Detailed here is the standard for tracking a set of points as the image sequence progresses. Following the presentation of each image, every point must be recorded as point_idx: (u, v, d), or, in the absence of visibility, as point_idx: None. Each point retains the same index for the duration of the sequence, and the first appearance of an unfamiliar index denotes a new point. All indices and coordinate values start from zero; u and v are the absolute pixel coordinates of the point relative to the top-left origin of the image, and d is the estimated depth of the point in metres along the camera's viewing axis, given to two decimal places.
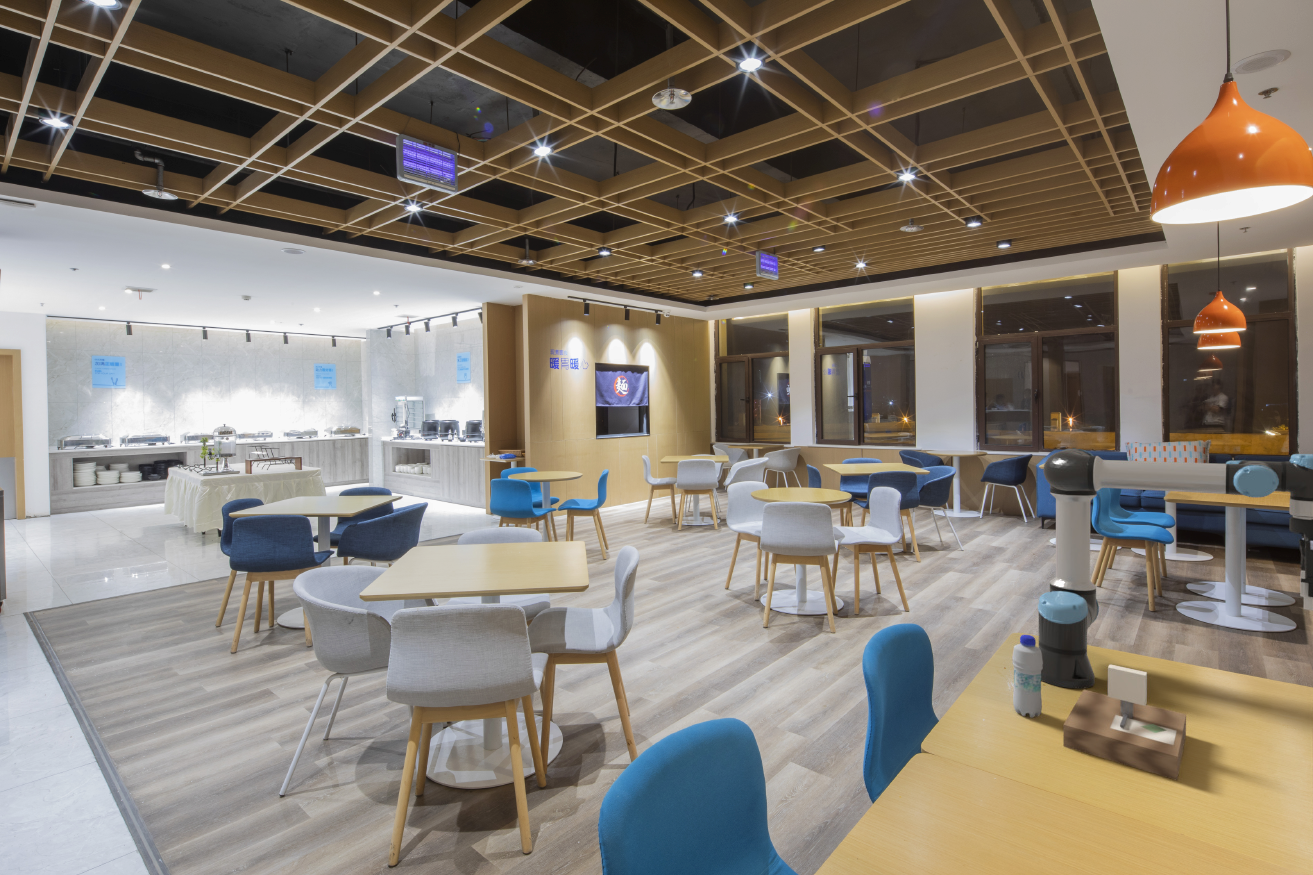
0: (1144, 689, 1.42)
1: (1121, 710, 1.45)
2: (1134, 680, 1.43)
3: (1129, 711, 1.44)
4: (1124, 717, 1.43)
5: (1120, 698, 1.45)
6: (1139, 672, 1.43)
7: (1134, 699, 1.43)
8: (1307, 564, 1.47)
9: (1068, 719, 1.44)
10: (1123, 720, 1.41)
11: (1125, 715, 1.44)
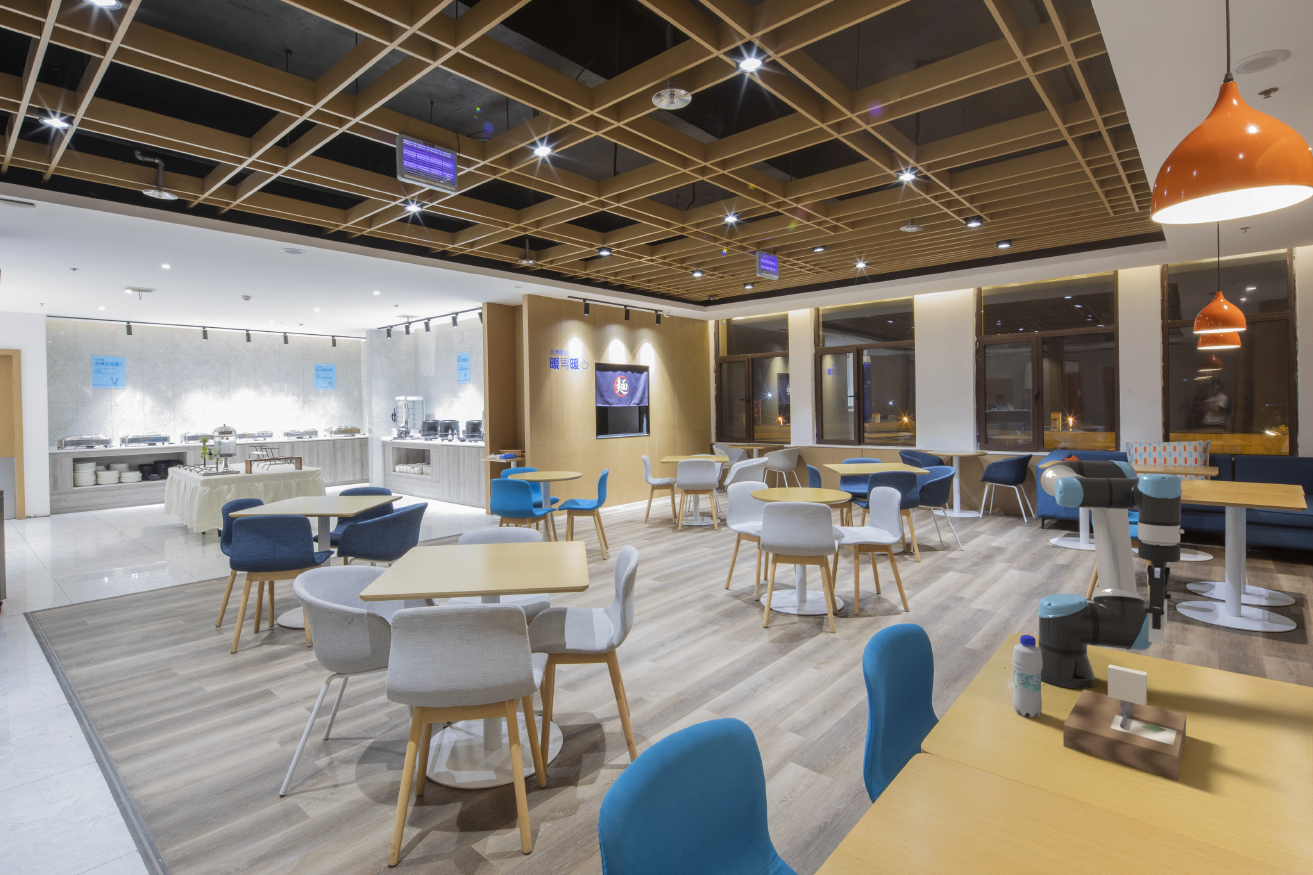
0: (1144, 689, 1.42)
1: (1121, 710, 1.45)
2: (1134, 680, 1.43)
3: (1129, 711, 1.44)
4: (1124, 717, 1.43)
5: (1120, 698, 1.45)
6: (1139, 672, 1.43)
7: (1134, 699, 1.43)
8: (1150, 593, 1.36)
9: (1068, 719, 1.44)
10: (1123, 720, 1.41)
11: (1125, 715, 1.44)
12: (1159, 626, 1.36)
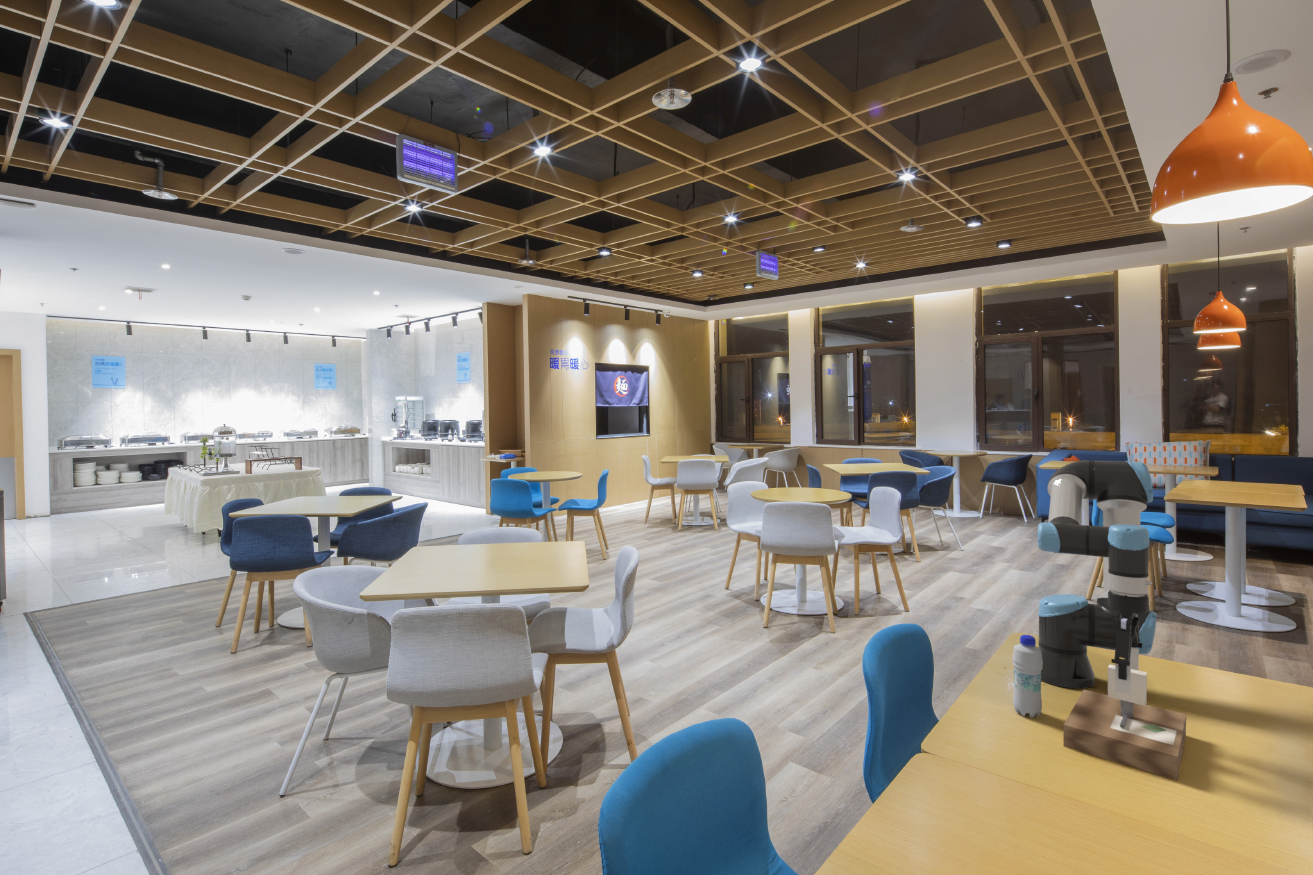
0: (1144, 689, 1.42)
1: (1121, 710, 1.45)
2: (1134, 680, 1.43)
3: (1129, 711, 1.44)
4: (1124, 717, 1.43)
5: (1120, 698, 1.45)
6: (1139, 672, 1.43)
7: (1134, 699, 1.43)
8: (1116, 644, 1.39)
9: (1068, 719, 1.44)
10: (1123, 720, 1.41)
11: (1125, 715, 1.44)
12: (1125, 677, 1.38)
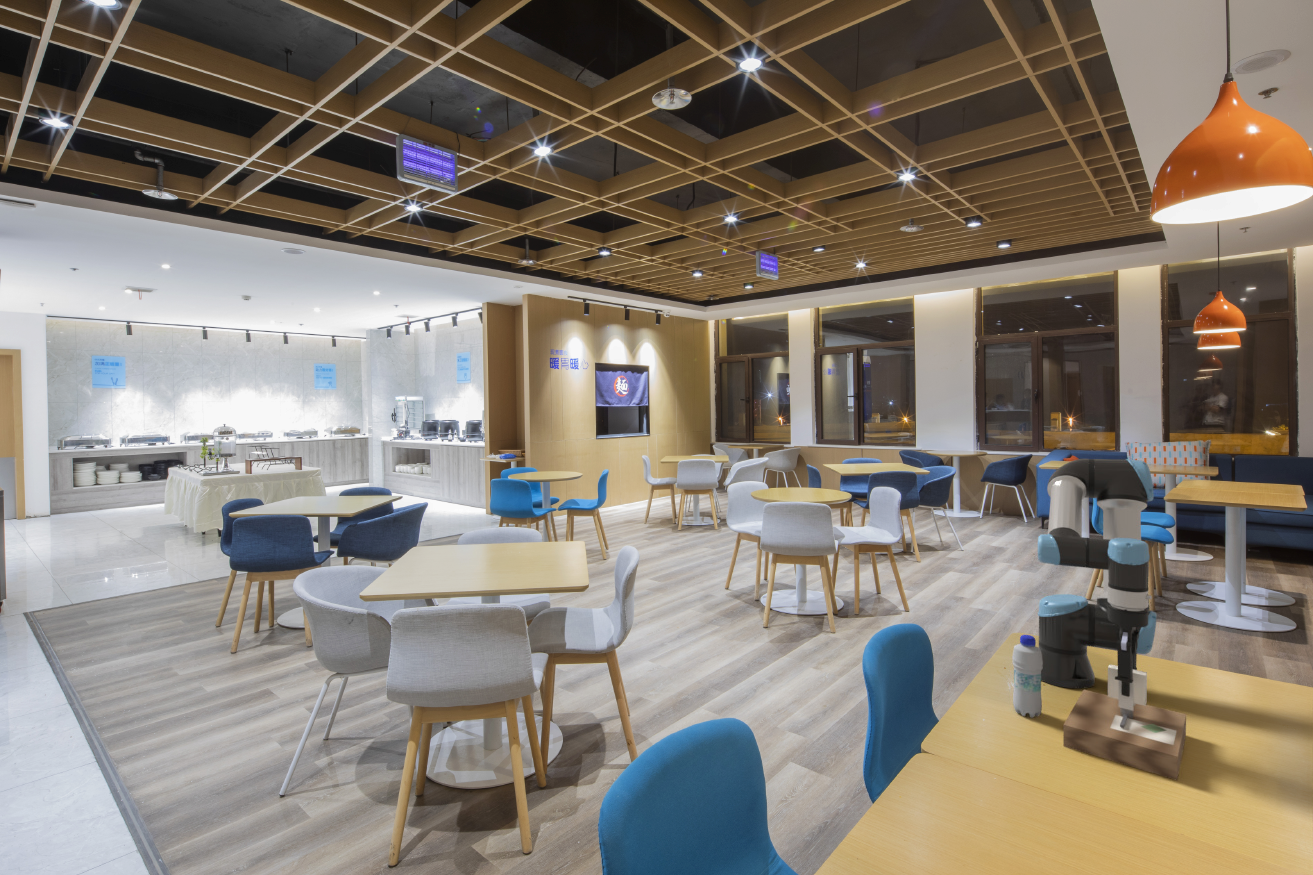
0: (1144, 689, 1.42)
1: (1121, 710, 1.45)
2: (1134, 680, 1.43)
3: (1129, 711, 1.44)
4: (1124, 717, 1.43)
5: None
6: (1139, 672, 1.43)
7: (1134, 699, 1.43)
8: (1118, 664, 1.41)
9: (1068, 719, 1.44)
10: (1123, 720, 1.41)
11: (1125, 715, 1.44)
12: (1128, 693, 1.42)
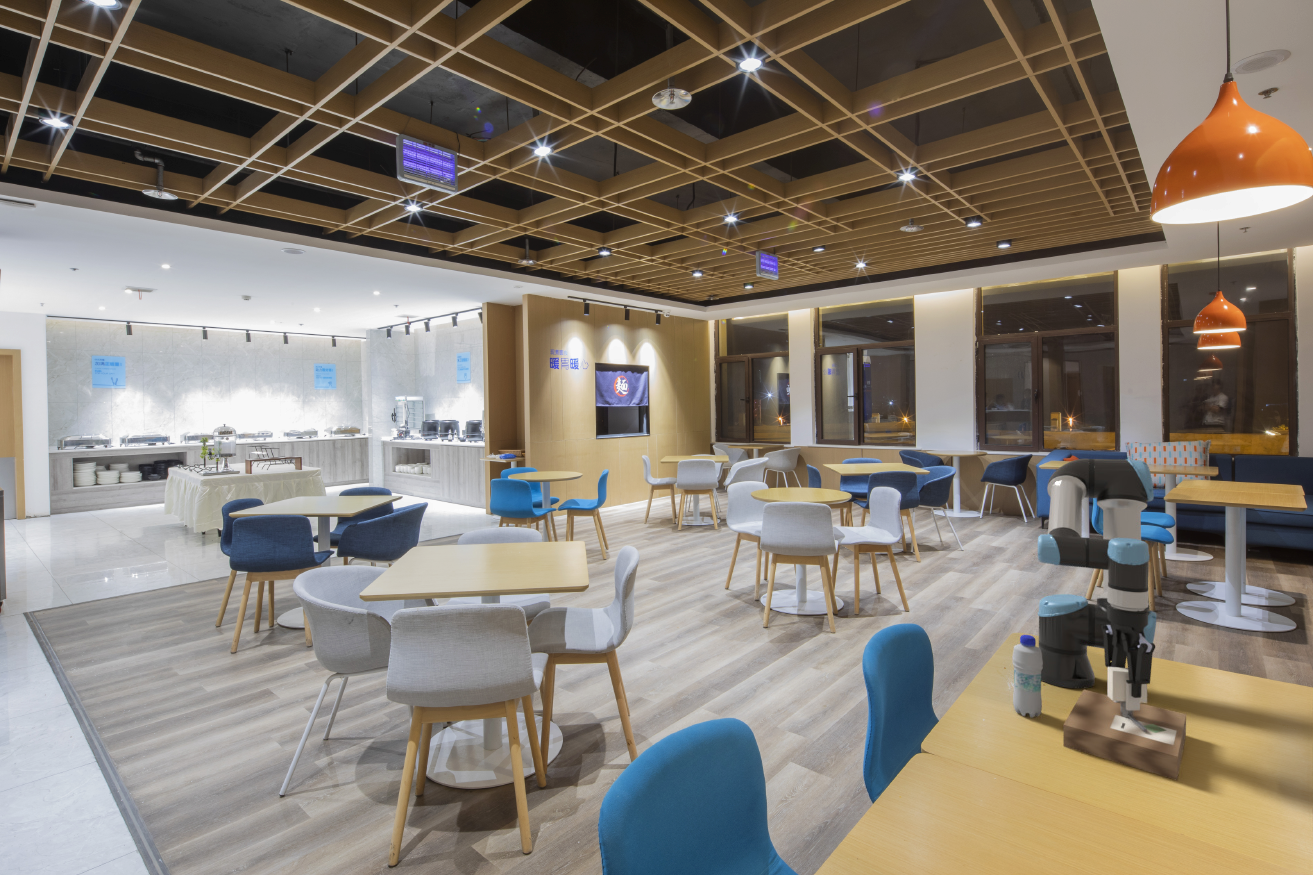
0: (1146, 686, 1.43)
1: (1123, 711, 1.45)
2: None
3: (1132, 711, 1.44)
4: (1133, 719, 1.42)
5: (1124, 700, 1.44)
6: None
7: None
8: (1141, 668, 1.39)
9: (1068, 719, 1.44)
10: (1138, 723, 1.40)
11: (1131, 716, 1.43)
12: None
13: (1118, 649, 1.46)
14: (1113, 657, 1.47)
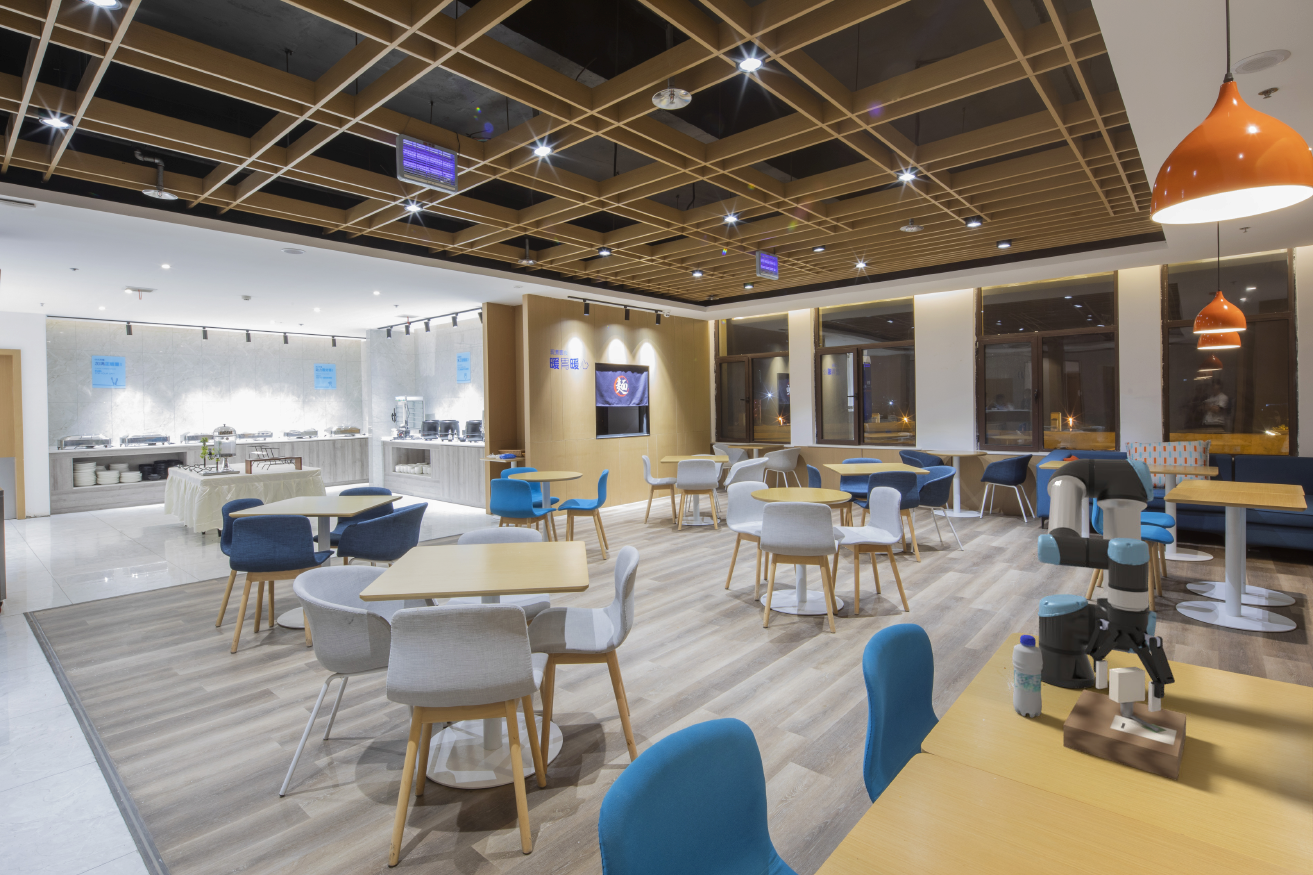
0: (1144, 684, 1.44)
1: (1125, 712, 1.44)
2: (1137, 678, 1.44)
3: (1132, 710, 1.44)
4: (1139, 719, 1.42)
5: (1127, 700, 1.44)
6: (1135, 668, 1.45)
7: (1137, 697, 1.44)
8: (1161, 665, 1.36)
9: (1068, 719, 1.44)
10: (1146, 723, 1.40)
11: (1134, 716, 1.43)
12: None
13: (1110, 645, 1.47)
14: (1101, 648, 1.49)
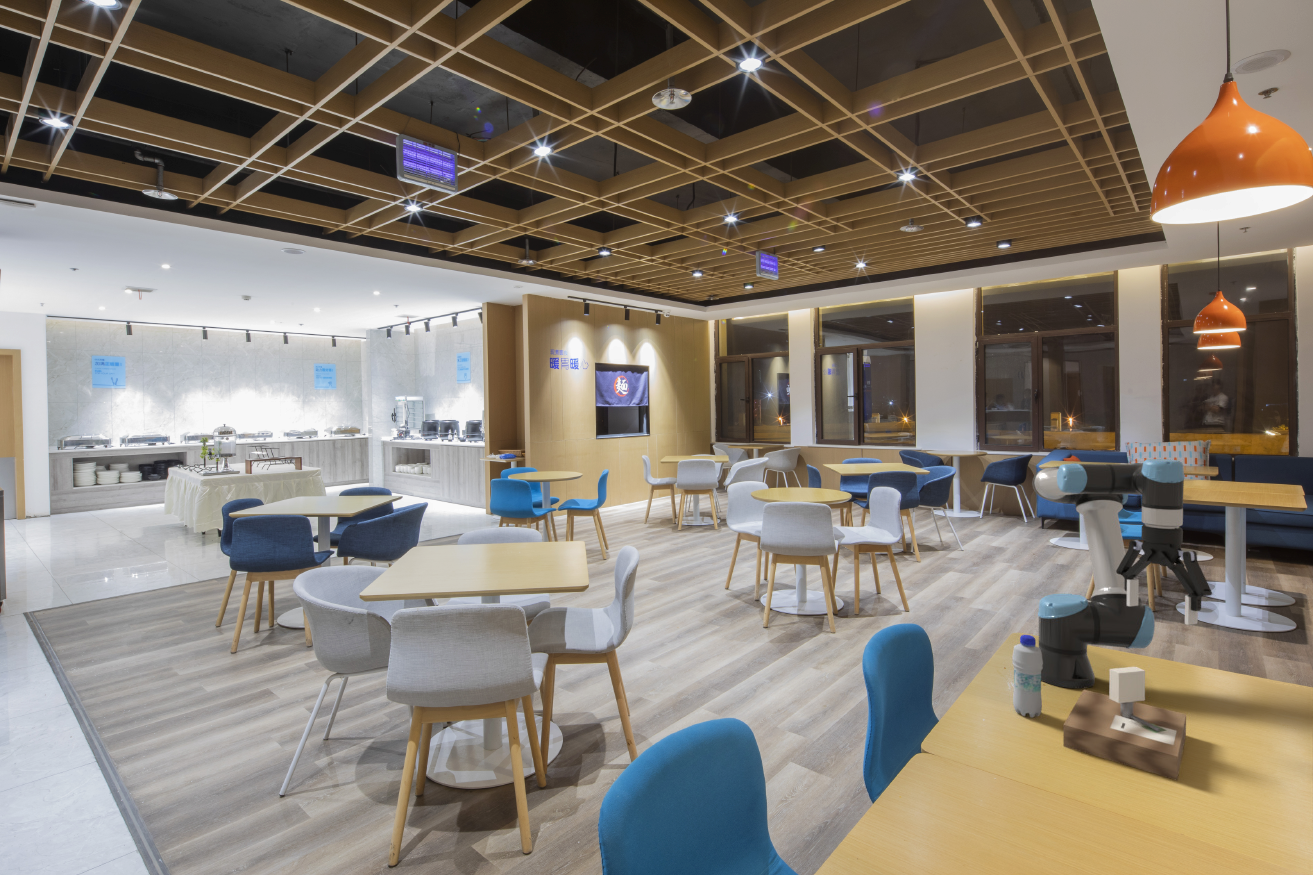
0: (1144, 684, 1.44)
1: (1125, 712, 1.44)
2: (1137, 678, 1.44)
3: (1132, 710, 1.44)
4: (1139, 719, 1.42)
5: (1127, 700, 1.44)
6: (1135, 668, 1.45)
7: (1137, 697, 1.44)
8: (1197, 577, 1.38)
9: (1068, 719, 1.44)
10: (1147, 723, 1.40)
11: (1134, 716, 1.43)
12: None
13: (1142, 564, 1.50)
14: (1132, 567, 1.52)
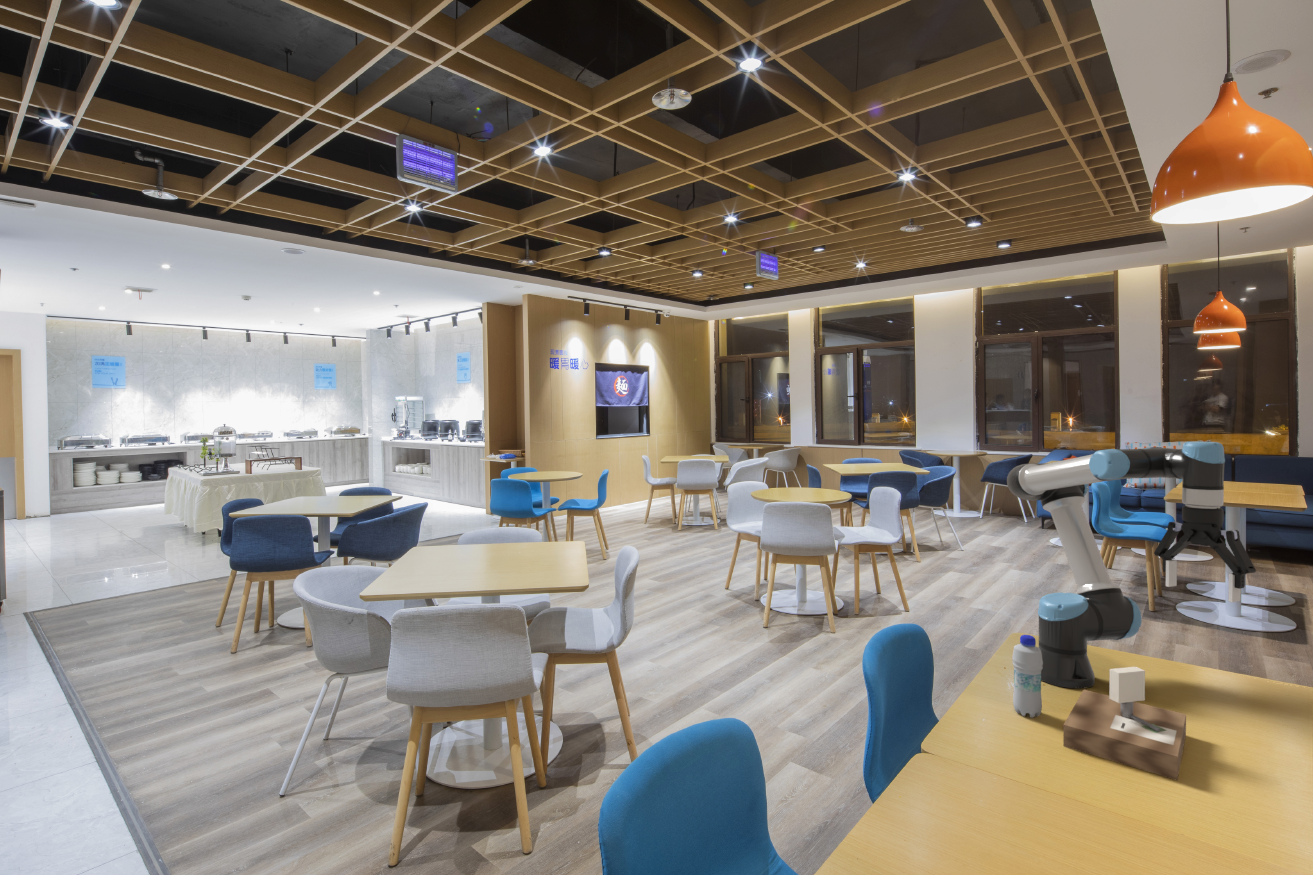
0: (1144, 684, 1.44)
1: (1126, 712, 1.44)
2: (1137, 678, 1.44)
3: None
4: (1139, 719, 1.42)
5: (1127, 700, 1.44)
6: (1135, 668, 1.45)
7: (1137, 697, 1.44)
8: (1241, 555, 1.41)
9: (1068, 719, 1.44)
10: (1147, 723, 1.40)
11: (1134, 716, 1.43)
12: None
13: (1182, 545, 1.53)
14: (1172, 548, 1.55)
